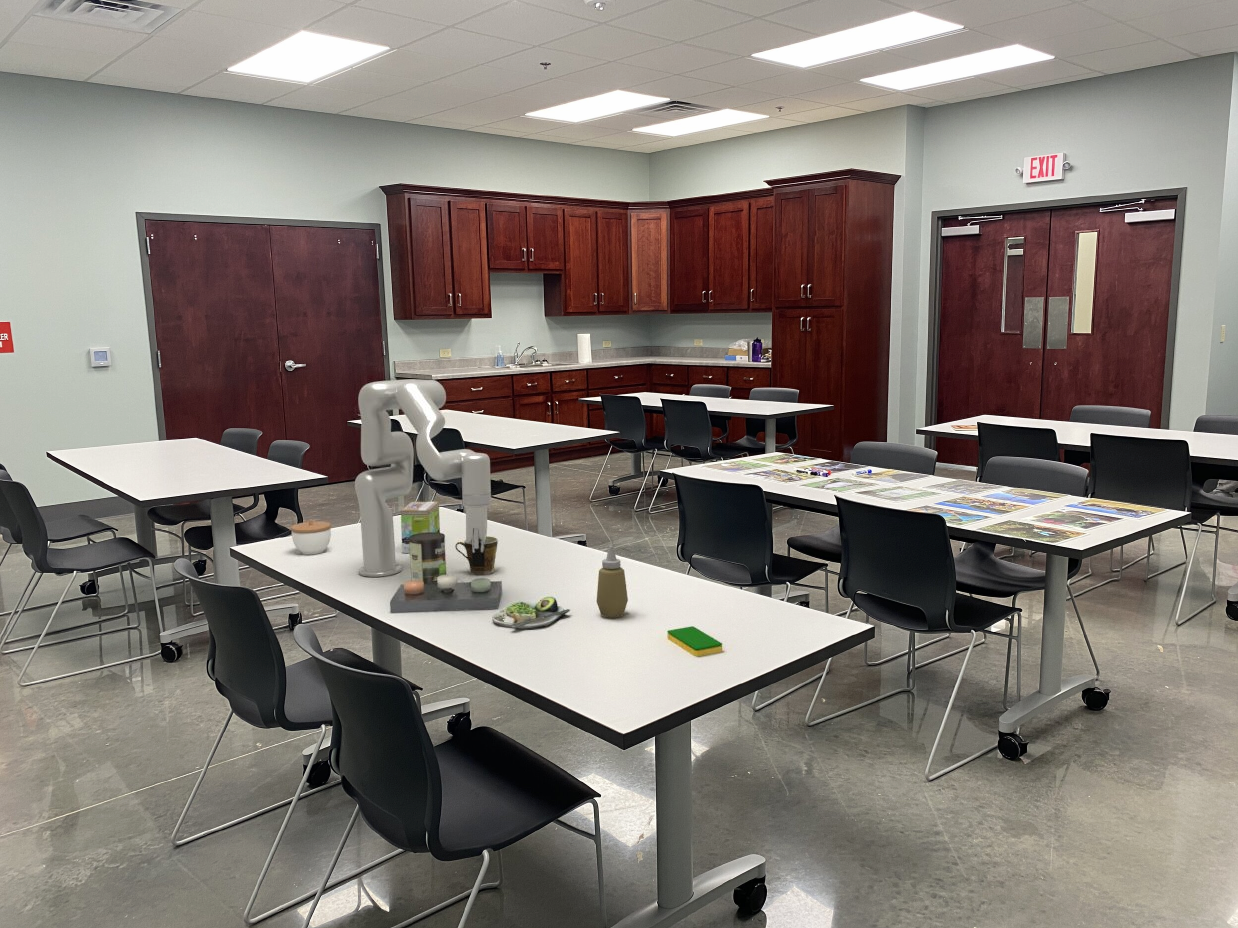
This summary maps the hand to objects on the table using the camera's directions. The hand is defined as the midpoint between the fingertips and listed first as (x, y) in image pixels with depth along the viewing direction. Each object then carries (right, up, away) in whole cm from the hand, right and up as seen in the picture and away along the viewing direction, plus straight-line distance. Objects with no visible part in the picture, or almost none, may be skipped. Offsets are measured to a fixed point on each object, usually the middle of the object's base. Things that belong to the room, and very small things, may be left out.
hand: (478, 565), depth 251 cm
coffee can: (-17, -7, +19) cm, 27 cm away
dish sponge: (+55, -15, -36) cm, 68 cm away
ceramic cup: (-5, -5, +30) cm, 31 cm away
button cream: (-8, -8, +1) cm, 12 cm away
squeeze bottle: (+36, -11, -13) cm, 40 cm away
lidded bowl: (-64, -2, +59) cm, 87 cm away
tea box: (-28, -1, +61) cm, 68 cm away
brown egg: (-17, -10, 0) cm, 20 cm away
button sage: (+1, -9, +1) cm, 10 cm away
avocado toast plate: (+15, -12, -14) cm, 24 cm away
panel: (-8, -10, +1) cm, 13 cm away
